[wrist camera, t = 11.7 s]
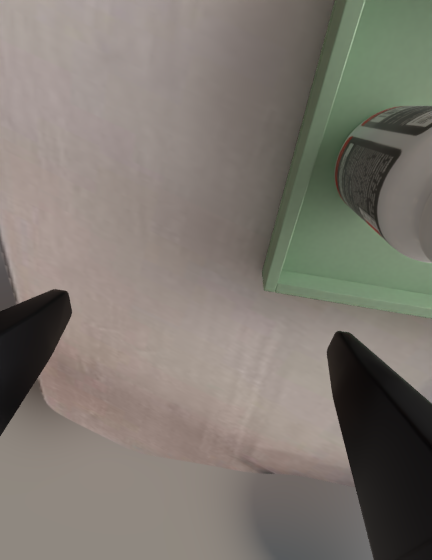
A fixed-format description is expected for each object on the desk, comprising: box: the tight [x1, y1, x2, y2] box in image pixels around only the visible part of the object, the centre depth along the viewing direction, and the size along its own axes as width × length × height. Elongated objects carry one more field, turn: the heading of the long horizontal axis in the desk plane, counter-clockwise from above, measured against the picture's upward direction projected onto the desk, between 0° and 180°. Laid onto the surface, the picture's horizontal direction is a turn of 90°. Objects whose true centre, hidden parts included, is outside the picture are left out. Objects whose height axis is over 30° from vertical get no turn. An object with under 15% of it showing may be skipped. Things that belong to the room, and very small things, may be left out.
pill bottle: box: [334, 106, 432, 263], centre depth 12 cm, size 6×6×10 cm
